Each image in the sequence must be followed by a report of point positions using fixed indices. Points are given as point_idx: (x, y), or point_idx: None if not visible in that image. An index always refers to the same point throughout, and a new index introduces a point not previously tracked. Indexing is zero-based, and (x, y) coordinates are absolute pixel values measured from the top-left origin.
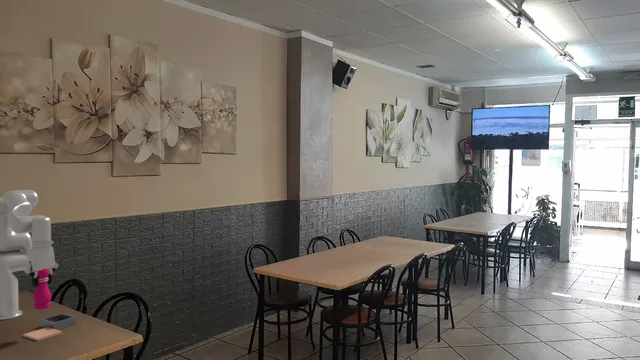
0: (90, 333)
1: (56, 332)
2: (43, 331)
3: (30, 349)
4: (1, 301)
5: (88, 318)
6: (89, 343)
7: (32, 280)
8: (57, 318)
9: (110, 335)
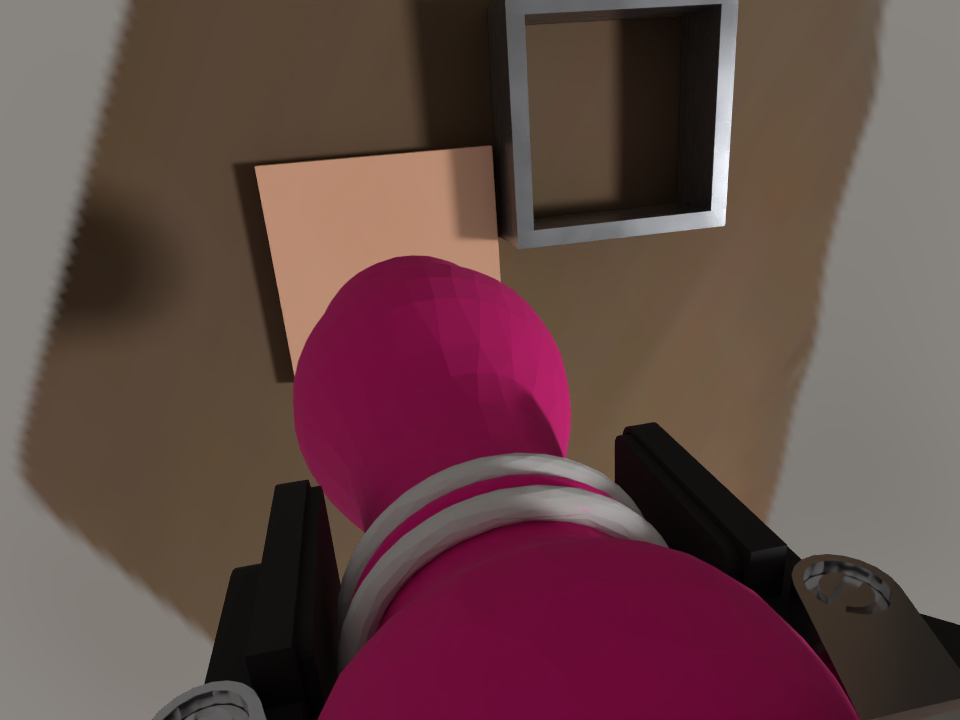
0: None
1: None
2: (410, 243)
3: (191, 511)
4: None
5: (830, 157)
6: None
7: (220, 667)
8: (659, 11)
9: None
